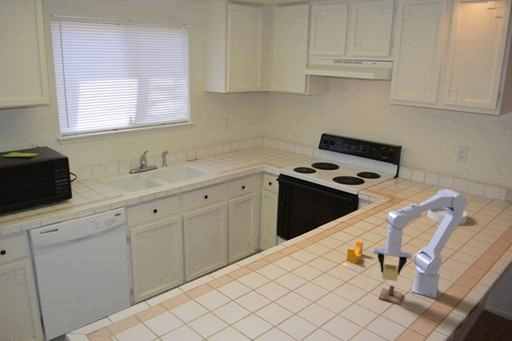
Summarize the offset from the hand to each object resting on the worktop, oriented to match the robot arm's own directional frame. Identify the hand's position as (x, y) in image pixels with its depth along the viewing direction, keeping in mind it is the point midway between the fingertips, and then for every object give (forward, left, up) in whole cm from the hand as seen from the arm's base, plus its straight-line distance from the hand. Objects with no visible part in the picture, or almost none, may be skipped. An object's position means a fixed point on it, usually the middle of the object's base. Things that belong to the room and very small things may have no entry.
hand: (390, 272), depth 174 cm
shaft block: (-1, +1, -10) cm, 10 cm away
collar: (0, 0, -2) cm, 2 cm away
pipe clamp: (+19, -27, -10) cm, 35 cm away
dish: (-17, -110, -10) cm, 112 cm away
